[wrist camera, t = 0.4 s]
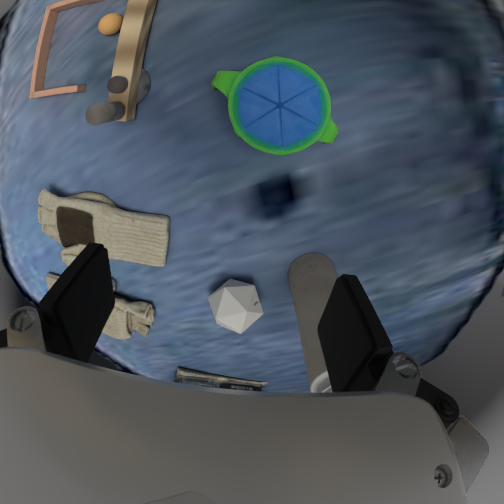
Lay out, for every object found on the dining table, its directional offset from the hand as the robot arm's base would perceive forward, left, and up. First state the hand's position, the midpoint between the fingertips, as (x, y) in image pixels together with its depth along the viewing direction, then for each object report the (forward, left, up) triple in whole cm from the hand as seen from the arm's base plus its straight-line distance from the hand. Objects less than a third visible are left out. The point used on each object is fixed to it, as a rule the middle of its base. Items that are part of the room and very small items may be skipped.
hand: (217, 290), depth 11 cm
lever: (-14, -17, -29) cm, 36 cm away
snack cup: (-8, +3, -30) cm, 31 cm away
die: (+23, +3, -30) cm, 38 cm away
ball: (-19, -21, -30) cm, 41 cm away
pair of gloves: (+23, -23, -31) cm, 45 cm away
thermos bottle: (+17, +15, -30) cm, 38 cm away
